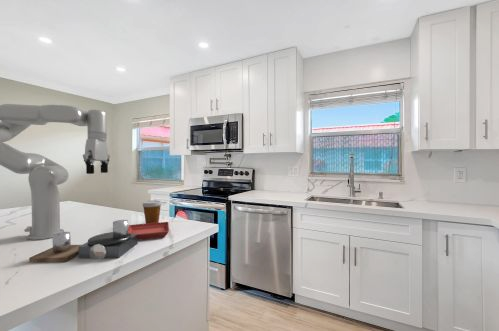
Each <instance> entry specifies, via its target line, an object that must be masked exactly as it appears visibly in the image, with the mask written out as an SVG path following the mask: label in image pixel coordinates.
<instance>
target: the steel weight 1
mask: <svg viewBox="0 0 499 331" xmlns="http://www.w3.org/2000/svg"><path fill="white" fill-rule="evenodd" d="M71 245H72V243H71V232H70V231H64V232H60V233H56V234H53V235H52V247H53V253H63V252H66V251H69V250H70V249H71Z"/></svg>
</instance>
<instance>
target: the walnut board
mask: <svg viewBox="0 0 499 331" xmlns="http://www.w3.org/2000/svg"><path fill="white" fill-rule="evenodd" d="M81 245H82V244H71V249H70V250H69V251H66V252H63V253H53V246H52V247H51V248H48V249H46V250H43V251H41V252H39V253H37V254H34V255H33V256H30V257H28V258H29V259H28V260H29V263H66V262H68V261H70V260H72V259H74V258H75V257H78V247H79V246H81Z"/></svg>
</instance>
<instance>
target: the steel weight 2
mask: <svg viewBox="0 0 499 331" xmlns="http://www.w3.org/2000/svg"><path fill="white" fill-rule="evenodd" d="M128 227H129V219H119V220H118V219H117V220H114V221H112V232H113V239H124V238H127V237H128Z"/></svg>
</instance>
